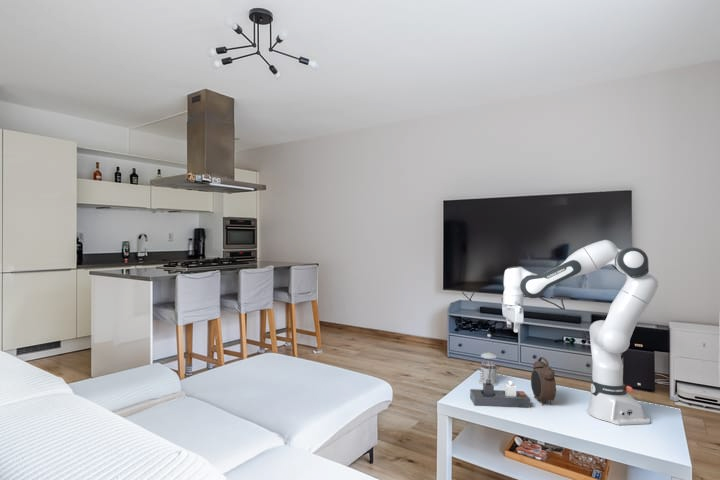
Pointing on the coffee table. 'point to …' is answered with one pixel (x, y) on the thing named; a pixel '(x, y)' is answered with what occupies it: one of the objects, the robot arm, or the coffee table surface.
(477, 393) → the strip
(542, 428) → the coffee table surface
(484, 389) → the twin plug
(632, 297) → the robot arm
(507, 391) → the white rectangular bottle
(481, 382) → the french press
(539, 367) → the alarm clock
